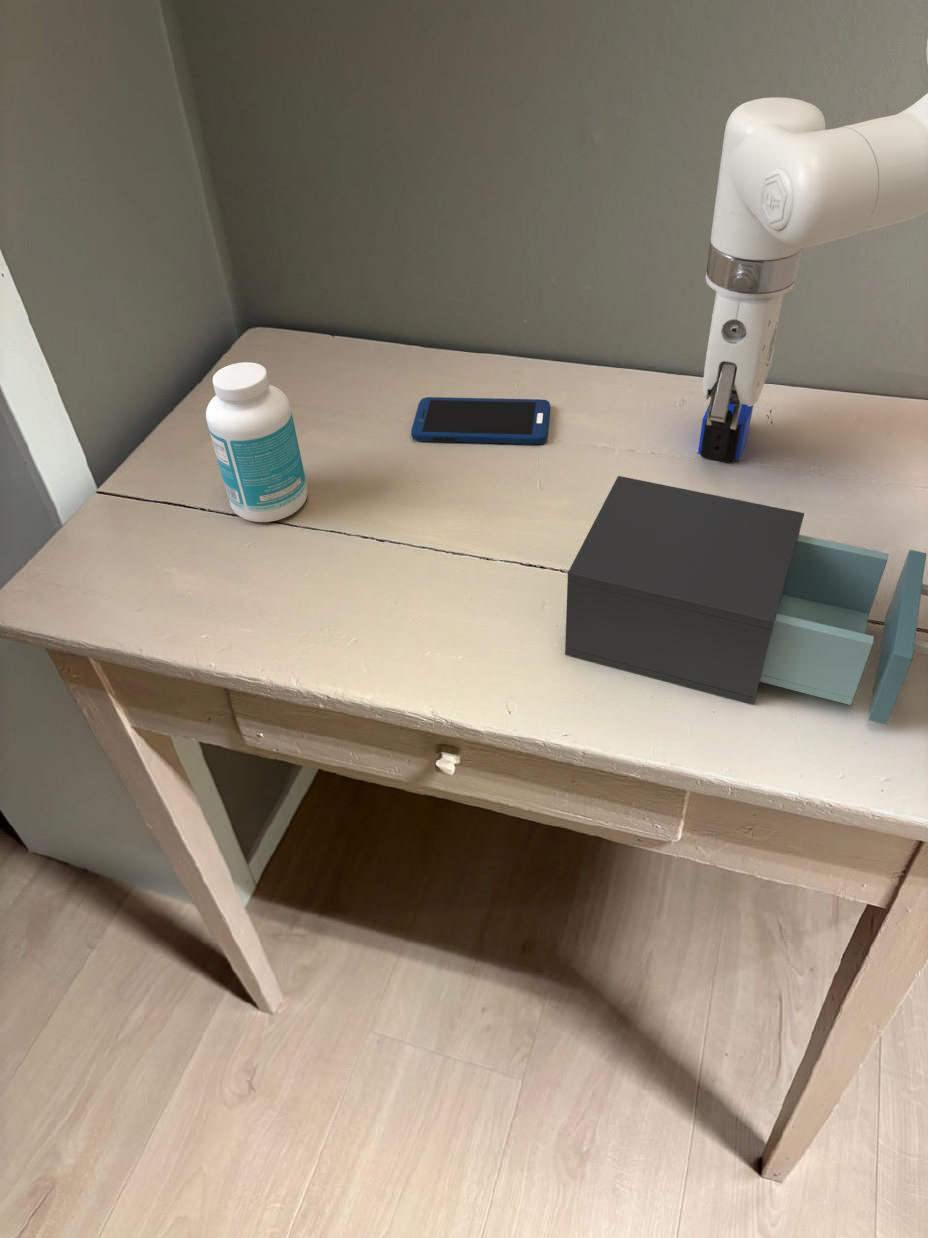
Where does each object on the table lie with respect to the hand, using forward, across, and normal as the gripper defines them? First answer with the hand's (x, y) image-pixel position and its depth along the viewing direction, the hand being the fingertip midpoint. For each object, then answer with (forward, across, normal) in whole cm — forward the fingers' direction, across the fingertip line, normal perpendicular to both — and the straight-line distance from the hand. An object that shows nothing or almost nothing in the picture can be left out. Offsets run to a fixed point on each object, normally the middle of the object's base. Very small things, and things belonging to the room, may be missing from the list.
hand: (723, 443), depth 94 cm
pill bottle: (0, -23, +38) cm, 44 cm away
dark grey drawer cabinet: (0, -26, -2) cm, 26 cm away
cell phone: (0, -4, +24) cm, 24 cm away
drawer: (-1, -26, -14) cm, 29 cm away
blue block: (0, 0, 0) cm, 0 cm away
